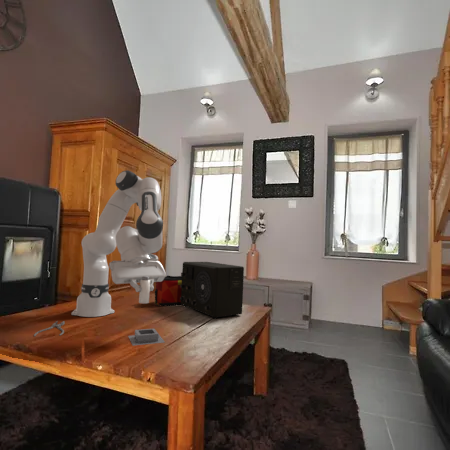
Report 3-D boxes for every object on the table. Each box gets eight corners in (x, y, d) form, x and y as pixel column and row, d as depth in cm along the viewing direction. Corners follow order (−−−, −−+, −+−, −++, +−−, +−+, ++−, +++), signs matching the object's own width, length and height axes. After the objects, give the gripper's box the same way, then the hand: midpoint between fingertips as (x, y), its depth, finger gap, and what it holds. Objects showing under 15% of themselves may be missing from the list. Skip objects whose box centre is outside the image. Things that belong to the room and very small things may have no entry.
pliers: (33, 336, 108) (38, 322, 126) (32, 339, 108) (38, 324, 126) (63, 334, 112) (65, 320, 130) (63, 336, 112) (64, 322, 130)
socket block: (128, 338, 111) (128, 328, 112) (157, 336, 116) (158, 326, 116) (132, 348, 101) (133, 337, 102) (164, 345, 106) (165, 335, 106)
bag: (191, 299, 195) (192, 273, 196) (203, 303, 184) (205, 275, 185) (147, 303, 176) (149, 274, 177) (158, 307, 165) (160, 277, 166)
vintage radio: (174, 305, 173) (176, 261, 175) (203, 302, 185) (205, 261, 186) (210, 320, 143) (213, 267, 145) (242, 316, 154) (244, 266, 156)
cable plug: (138, 301, 110) (139, 276, 110) (147, 301, 111) (149, 276, 112) (139, 303, 107) (141, 277, 107) (149, 303, 108) (151, 277, 109)
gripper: (110, 255, 108) (120, 286, 100) (161, 255, 122) (173, 283, 114) (104, 266, 111) (114, 298, 103) (154, 266, 125) (165, 293, 117)
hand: (145, 290), depth 109 cm, fingers closed on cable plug, 3 cm apart
